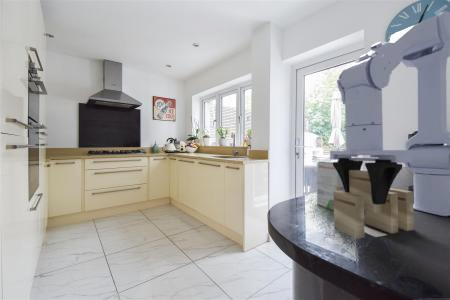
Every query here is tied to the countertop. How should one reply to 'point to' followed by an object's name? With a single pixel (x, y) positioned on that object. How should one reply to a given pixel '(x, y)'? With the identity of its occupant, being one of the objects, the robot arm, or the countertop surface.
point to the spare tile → (363, 189)
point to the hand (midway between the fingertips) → (364, 200)
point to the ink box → (327, 184)
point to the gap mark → (373, 232)
